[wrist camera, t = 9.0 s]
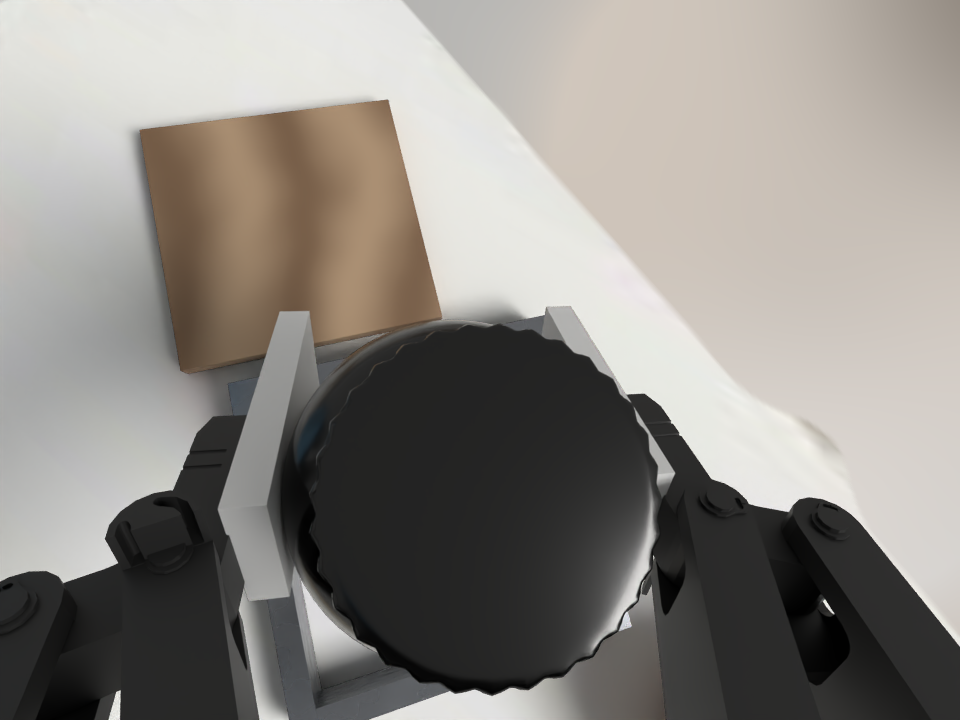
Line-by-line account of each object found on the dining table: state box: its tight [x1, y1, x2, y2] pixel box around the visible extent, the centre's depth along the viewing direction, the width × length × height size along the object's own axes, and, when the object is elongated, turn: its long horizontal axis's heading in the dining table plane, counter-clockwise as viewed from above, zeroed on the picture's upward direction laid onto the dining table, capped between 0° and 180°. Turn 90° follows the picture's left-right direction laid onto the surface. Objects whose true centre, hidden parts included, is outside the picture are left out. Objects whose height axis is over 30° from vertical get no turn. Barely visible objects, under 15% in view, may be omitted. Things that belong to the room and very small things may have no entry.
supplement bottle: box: [281, 320, 662, 696], centre depth 12 cm, size 7×7×12 cm
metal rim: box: [228, 315, 632, 720], centre depth 27 cm, size 17×17×2 cm
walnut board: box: [140, 100, 442, 374], centre depth 29 cm, size 14×14×1 cm
